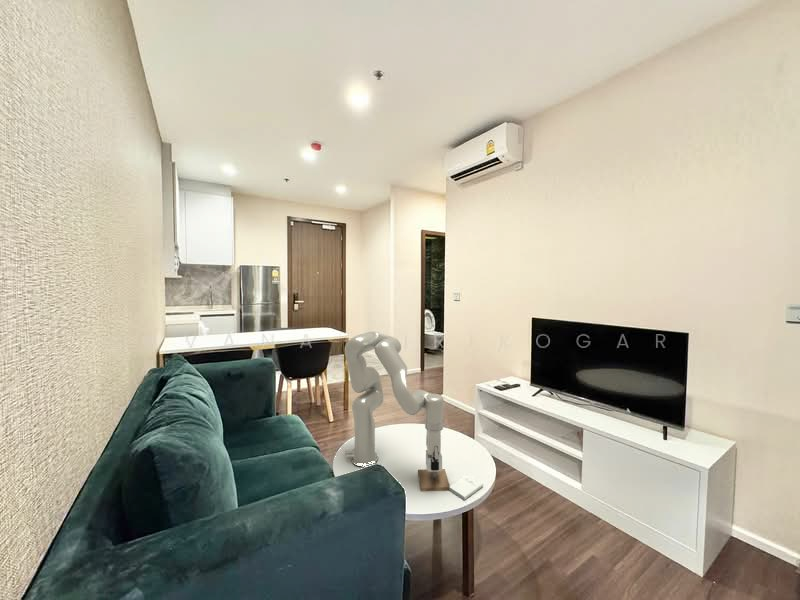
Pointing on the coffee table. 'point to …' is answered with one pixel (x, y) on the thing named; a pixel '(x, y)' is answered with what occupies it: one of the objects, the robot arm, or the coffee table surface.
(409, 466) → the coffee table surface
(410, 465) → the coffee table surface
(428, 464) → the grey hollow cube
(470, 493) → the external hard drive
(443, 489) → the shaft block
